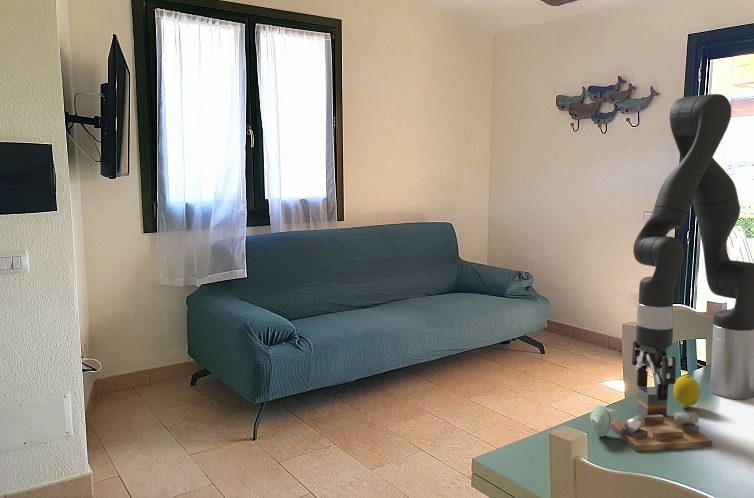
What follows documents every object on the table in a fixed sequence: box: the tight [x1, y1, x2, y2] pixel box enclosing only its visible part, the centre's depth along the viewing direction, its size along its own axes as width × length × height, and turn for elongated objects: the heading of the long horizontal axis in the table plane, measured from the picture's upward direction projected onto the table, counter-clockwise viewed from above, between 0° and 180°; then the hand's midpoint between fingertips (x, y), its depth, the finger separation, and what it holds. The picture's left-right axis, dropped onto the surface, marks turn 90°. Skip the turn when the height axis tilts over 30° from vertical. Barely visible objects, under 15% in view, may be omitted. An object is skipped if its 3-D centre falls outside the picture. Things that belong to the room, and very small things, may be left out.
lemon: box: [673, 374, 701, 409], centre depth 138 cm, size 6×6×8 cm
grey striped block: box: [636, 386, 668, 417], centre depth 135 cm, size 5×5×6 cm
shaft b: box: [622, 415, 648, 440], centre depth 123 cm, size 4×4×4 cm
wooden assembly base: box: [610, 411, 713, 452], centre depth 125 cm, size 16×12×5 cm
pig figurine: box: [589, 404, 617, 438], centre depth 125 cm, size 8×4×7 cm, turn 131°
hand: (651, 392), depth 134 cm, fingers open, 8 cm apart
